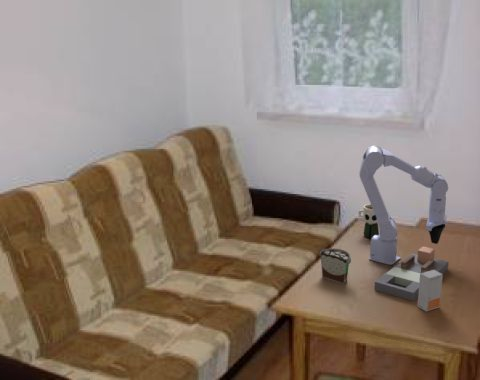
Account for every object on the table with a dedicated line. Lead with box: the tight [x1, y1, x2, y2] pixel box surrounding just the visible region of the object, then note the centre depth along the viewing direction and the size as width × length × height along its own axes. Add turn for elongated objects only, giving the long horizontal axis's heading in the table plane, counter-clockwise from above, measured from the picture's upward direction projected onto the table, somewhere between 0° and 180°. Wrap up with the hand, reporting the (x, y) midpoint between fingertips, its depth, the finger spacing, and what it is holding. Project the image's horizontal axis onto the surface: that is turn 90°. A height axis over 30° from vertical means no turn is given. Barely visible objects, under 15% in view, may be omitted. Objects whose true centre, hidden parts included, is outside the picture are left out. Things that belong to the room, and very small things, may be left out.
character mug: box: [358, 203, 380, 239], centre depth 262 cm, size 11×7×13 cm, turn 70°
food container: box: [318, 248, 352, 285], centre depth 226 cm, size 12×6×10 cm, turn 47°
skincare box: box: [417, 270, 444, 312], centre depth 203 cm, size 6×4×12 cm
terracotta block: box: [417, 246, 436, 264], centre depth 231 cm, size 4×4×4 cm
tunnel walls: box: [400, 254, 435, 273], centre depth 226 cm, size 9×8×2 cm
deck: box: [374, 252, 449, 302], centre depth 224 cm, size 14×30×3 cm, turn 141°
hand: (434, 242), depth 235 cm, fingers closed
